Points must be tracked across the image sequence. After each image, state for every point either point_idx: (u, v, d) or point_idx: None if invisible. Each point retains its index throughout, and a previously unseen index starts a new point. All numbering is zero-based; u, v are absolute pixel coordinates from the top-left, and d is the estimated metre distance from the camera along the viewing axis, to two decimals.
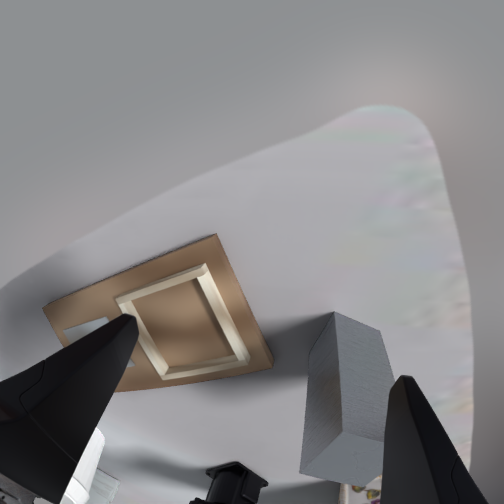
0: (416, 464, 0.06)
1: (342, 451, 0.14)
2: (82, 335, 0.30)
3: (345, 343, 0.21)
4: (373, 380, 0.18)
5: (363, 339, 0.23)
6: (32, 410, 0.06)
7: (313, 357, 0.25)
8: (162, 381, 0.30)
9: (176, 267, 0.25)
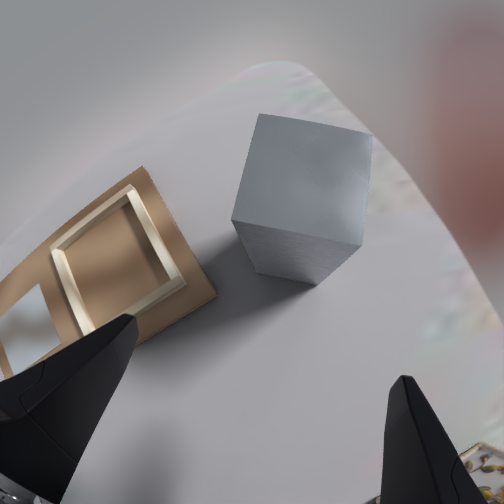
0: (416, 464, 0.06)
1: (276, 148, 0.11)
2: (13, 319, 0.23)
3: None
4: None
5: None
6: (33, 410, 0.06)
7: None
8: None
9: None
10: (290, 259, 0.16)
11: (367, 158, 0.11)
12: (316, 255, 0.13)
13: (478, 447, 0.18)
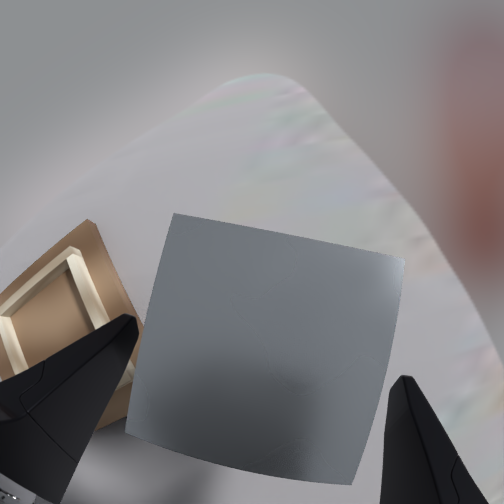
0: (416, 464, 0.06)
1: (201, 300, 0.06)
2: None
3: None
4: None
5: None
6: (32, 410, 0.06)
7: None
8: None
9: None
10: None
11: (389, 318, 0.05)
12: None
13: None
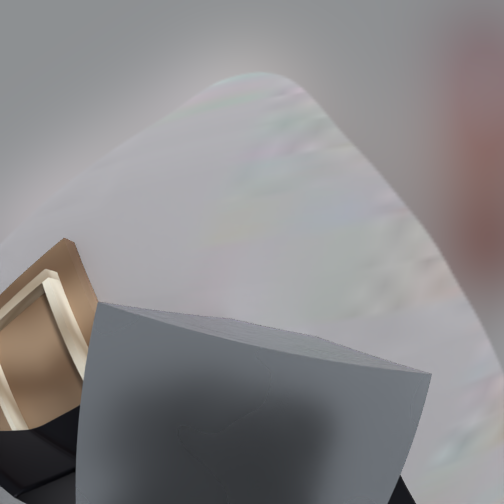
0: None
1: (139, 427, 0.04)
2: None
3: (233, 321, 0.12)
4: (279, 334, 0.09)
5: None
6: None
7: None
8: None
9: None
10: None
11: (399, 454, 0.03)
12: None
13: None
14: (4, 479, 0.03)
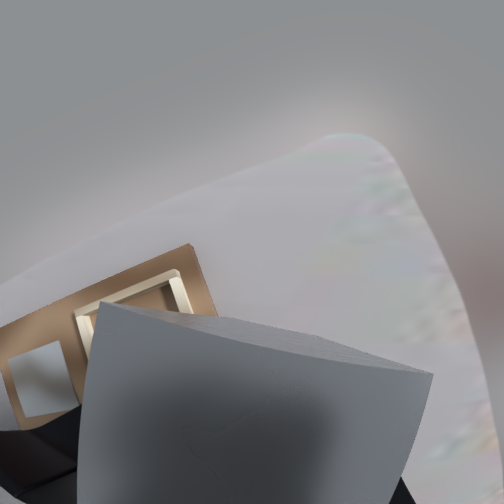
0: None
1: (141, 426, 0.04)
2: (27, 365, 0.22)
3: (234, 320, 0.12)
4: (281, 334, 0.09)
5: (277, 329, 0.14)
6: None
7: None
8: None
9: (147, 277, 0.23)
10: None
11: (400, 454, 0.03)
12: None
13: None
14: (4, 479, 0.03)
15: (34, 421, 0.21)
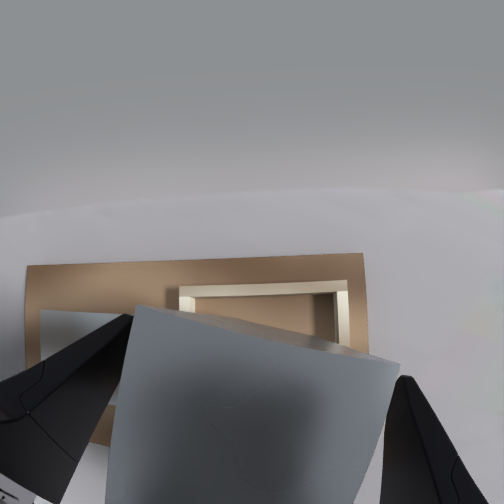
0: (416, 464, 0.06)
1: (170, 403, 0.05)
2: (70, 329, 0.18)
3: (238, 320, 0.14)
4: (280, 332, 0.10)
5: (276, 328, 0.15)
6: (33, 410, 0.06)
7: None
8: None
9: (298, 276, 0.18)
10: None
11: (374, 428, 0.04)
12: None
13: None
14: None
15: None
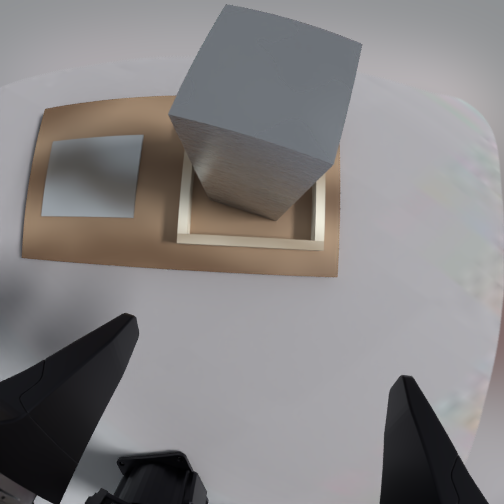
0: (416, 464, 0.06)
1: (239, 39, 0.08)
2: (80, 153, 0.20)
3: None
4: None
5: None
6: (33, 410, 0.06)
7: None
8: (161, 256, 0.20)
9: None
10: (244, 181, 0.13)
11: (352, 66, 0.08)
12: (275, 176, 0.11)
13: None
14: None
15: (51, 223, 0.20)
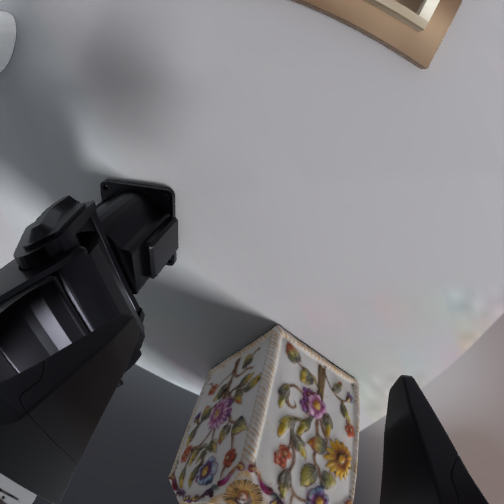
0: (416, 464, 0.06)
1: None
2: None
3: None
4: None
5: None
6: (33, 410, 0.06)
7: None
8: None
9: None
10: None
11: None
12: None
13: (353, 382, 0.28)
14: None
15: None
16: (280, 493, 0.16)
